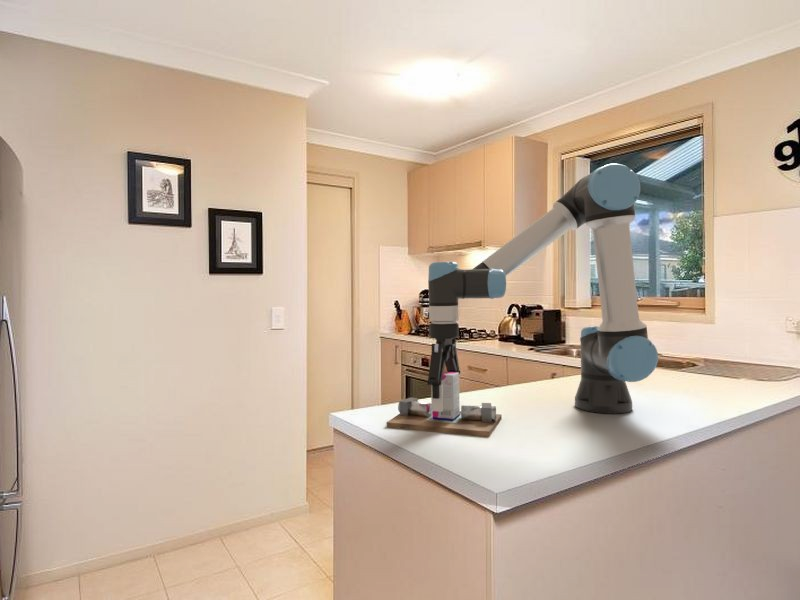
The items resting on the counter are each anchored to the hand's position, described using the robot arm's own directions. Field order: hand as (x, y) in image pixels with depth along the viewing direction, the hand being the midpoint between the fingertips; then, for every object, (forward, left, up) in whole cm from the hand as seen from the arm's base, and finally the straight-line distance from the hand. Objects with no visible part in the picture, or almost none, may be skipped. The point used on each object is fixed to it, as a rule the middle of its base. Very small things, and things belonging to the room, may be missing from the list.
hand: (445, 404), depth 127 cm
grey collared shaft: (-9, -1, -3) cm, 9 cm away
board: (0, 0, -5) cm, 5 cm away
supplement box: (0, 0, -3) cm, 4 cm away
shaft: (+8, -1, -3) cm, 9 cm away
